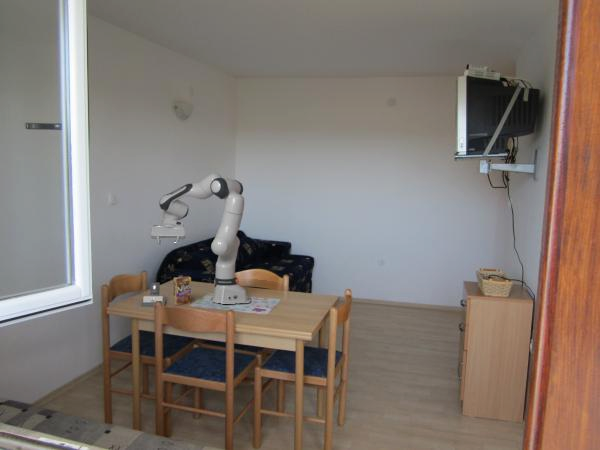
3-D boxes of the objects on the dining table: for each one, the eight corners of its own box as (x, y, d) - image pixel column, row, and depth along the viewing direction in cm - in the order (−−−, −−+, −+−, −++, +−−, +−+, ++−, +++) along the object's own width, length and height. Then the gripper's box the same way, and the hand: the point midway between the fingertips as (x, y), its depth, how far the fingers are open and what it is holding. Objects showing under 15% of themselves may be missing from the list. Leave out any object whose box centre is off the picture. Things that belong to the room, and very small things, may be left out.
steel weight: (159, 296, 261) (160, 282, 260) (158, 298, 256) (159, 284, 255) (150, 296, 260) (150, 282, 259) (149, 298, 255) (149, 284, 255)
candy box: (175, 305, 255) (175, 278, 254) (172, 303, 259) (173, 277, 257) (190, 303, 260) (191, 277, 259) (188, 302, 264) (188, 275, 262)
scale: (166, 300, 264) (166, 291, 264) (164, 306, 252) (164, 297, 251) (144, 301, 262) (144, 291, 261) (141, 307, 250) (141, 297, 249)
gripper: (151, 222, 279) (148, 240, 270) (185, 222, 283) (184, 240, 274) (152, 228, 283) (149, 246, 275) (186, 229, 287) (184, 247, 279)
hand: (167, 243), depth 274 cm, fingers open, 8 cm apart
